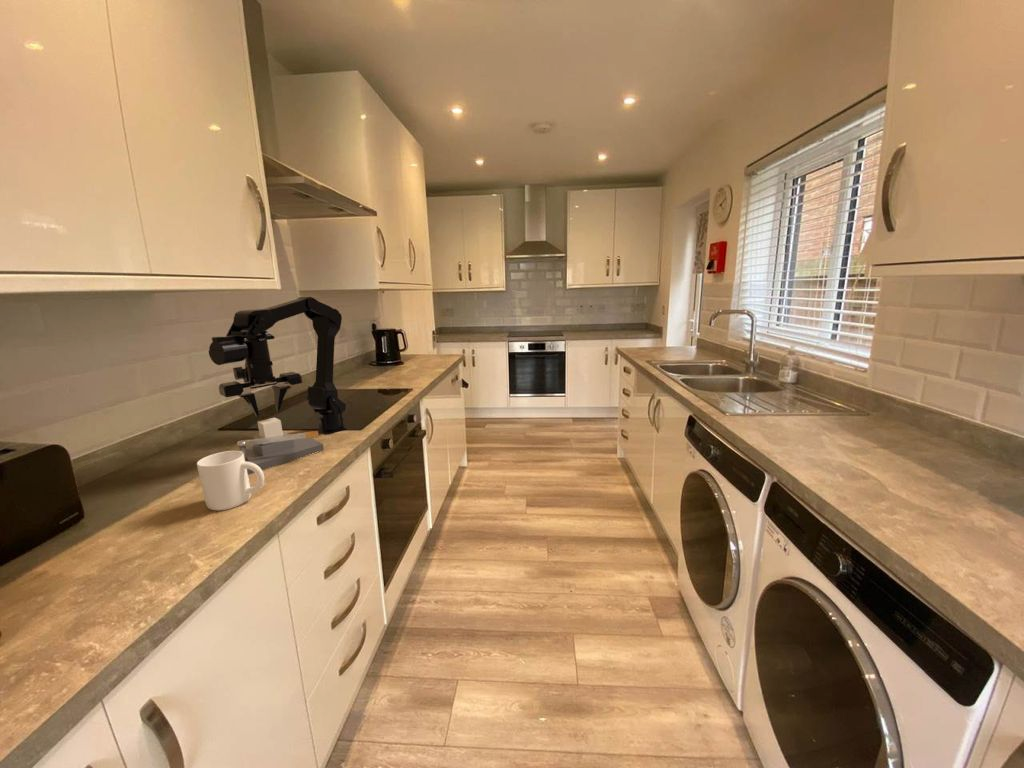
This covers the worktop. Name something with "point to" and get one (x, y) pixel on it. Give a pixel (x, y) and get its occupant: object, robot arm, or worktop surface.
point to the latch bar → (277, 439)
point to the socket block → (279, 452)
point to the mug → (227, 479)
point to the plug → (270, 429)
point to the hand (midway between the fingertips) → (267, 414)
